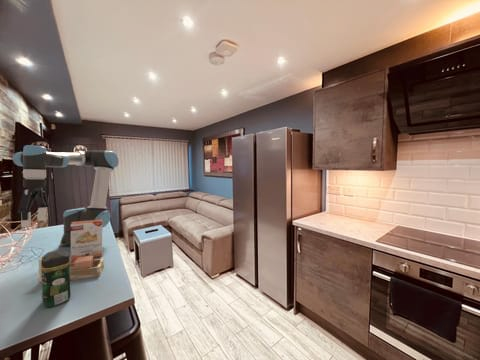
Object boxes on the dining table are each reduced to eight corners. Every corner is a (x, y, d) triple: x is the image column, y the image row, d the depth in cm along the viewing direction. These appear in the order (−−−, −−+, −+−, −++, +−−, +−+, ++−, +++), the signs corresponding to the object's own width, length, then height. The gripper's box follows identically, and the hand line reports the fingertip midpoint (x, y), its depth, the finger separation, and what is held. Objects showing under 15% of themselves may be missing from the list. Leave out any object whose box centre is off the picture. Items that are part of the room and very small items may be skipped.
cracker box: (70, 262, 106) (69, 224, 105) (72, 258, 111) (71, 221, 110) (102, 256, 114) (102, 220, 113) (102, 253, 119) (102, 218, 118)
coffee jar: (41, 299, 76) (39, 252, 75) (68, 290, 82) (67, 246, 81) (43, 311, 70) (42, 260, 69) (72, 301, 76) (71, 253, 75)
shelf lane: (66, 271, 97) (66, 263, 97) (104, 265, 103) (103, 258, 103) (58, 282, 87) (58, 273, 87) (99, 275, 94) (99, 267, 94)
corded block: (44, 276, 92) (44, 255, 91) (93, 269, 100) (93, 249, 99) (38, 283, 86) (37, 261, 86) (90, 274, 94) (90, 254, 94)
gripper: (38, 178, 103) (38, 218, 103) (5, 179, 80) (5, 231, 80) (57, 178, 106) (56, 217, 106) (30, 179, 83) (29, 229, 83)
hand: (34, 223), depth 93 cm, fingers open, 13 cm apart
